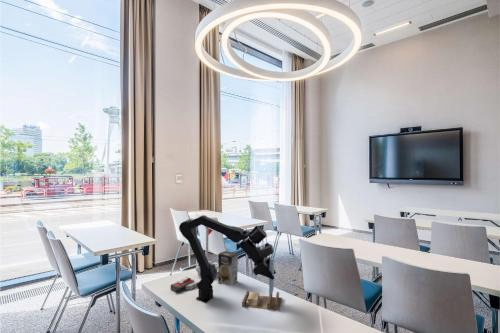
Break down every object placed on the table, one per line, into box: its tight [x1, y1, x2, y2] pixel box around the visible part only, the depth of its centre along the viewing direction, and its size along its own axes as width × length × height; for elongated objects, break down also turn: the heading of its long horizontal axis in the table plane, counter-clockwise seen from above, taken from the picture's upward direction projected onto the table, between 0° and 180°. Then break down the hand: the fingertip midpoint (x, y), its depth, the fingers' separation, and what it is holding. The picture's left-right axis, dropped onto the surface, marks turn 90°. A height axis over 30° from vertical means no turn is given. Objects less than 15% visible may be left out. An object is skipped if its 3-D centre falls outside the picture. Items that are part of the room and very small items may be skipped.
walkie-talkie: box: [170, 276, 200, 293], centre depth 146 cm, size 9×4×20 cm
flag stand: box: [195, 226, 218, 278], centre depth 162 cm, size 13×13×30 cm
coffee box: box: [217, 250, 239, 286], centre depth 149 cm, size 9×6×16 cm
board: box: [268, 257, 275, 295], centre depth 126 cm, size 2×6×14 cm, turn 170°
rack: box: [241, 290, 283, 312], centre depth 127 cm, size 17×12×3 cm
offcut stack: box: [246, 291, 260, 306], centre depth 128 cm, size 5×8×2 cm, turn 170°
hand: (274, 276), depth 126 cm, fingers closed on board, 6 cm apart
